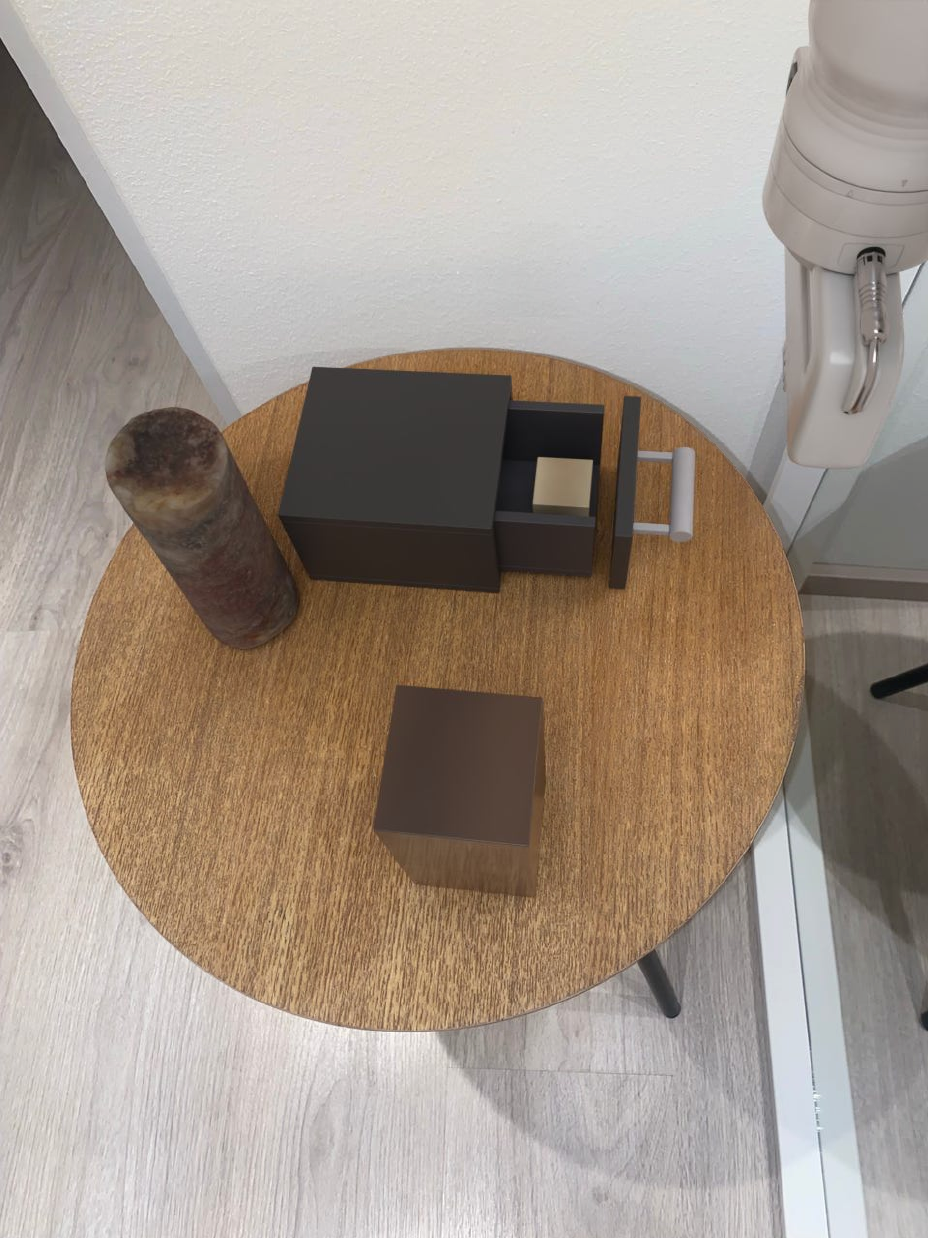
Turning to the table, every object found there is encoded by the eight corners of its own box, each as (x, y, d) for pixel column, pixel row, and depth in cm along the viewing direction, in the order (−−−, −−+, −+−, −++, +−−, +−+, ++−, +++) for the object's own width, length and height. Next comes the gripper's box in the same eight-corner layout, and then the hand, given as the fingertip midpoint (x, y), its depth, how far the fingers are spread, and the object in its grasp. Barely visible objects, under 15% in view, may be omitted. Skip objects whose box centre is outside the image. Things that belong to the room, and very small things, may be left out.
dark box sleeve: (516, 452, 78) (511, 375, 69) (499, 593, 73) (491, 528, 64) (338, 442, 80) (312, 366, 71) (309, 579, 74) (277, 515, 66)
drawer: (688, 461, 75) (702, 398, 68) (683, 594, 70) (698, 541, 63) (461, 449, 77) (451, 387, 70) (442, 577, 73) (430, 523, 65)
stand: (546, 778, 66) (543, 696, 52) (535, 898, 63) (528, 847, 49) (430, 767, 67) (396, 684, 53) (413, 884, 64) (372, 830, 50)
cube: (591, 489, 73) (593, 459, 70) (587, 535, 72) (589, 507, 68) (538, 486, 74) (537, 456, 70) (533, 532, 72) (532, 503, 69)
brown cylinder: (275, 547, 76) (188, 383, 58) (323, 616, 73) (246, 466, 55) (190, 599, 75) (73, 449, 56) (235, 671, 72) (127, 537, 54)
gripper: (963, 363, 39) (861, 535, 51) (927, 26, 47) (847, 244, 60) (800, 356, 40) (739, 526, 52) (793, 25, 48) (742, 241, 60)
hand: (797, 374), depth 56 cm, fingers closed
